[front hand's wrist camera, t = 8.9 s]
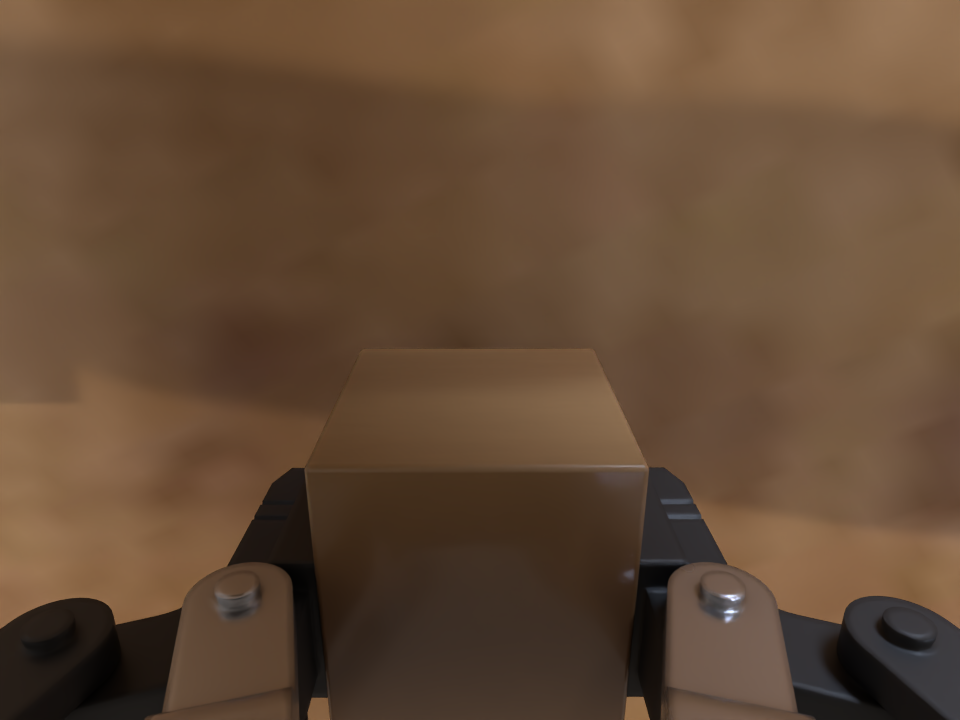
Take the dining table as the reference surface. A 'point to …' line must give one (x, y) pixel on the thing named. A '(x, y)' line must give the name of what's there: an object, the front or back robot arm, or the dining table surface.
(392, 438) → the block
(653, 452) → the dining table surface
